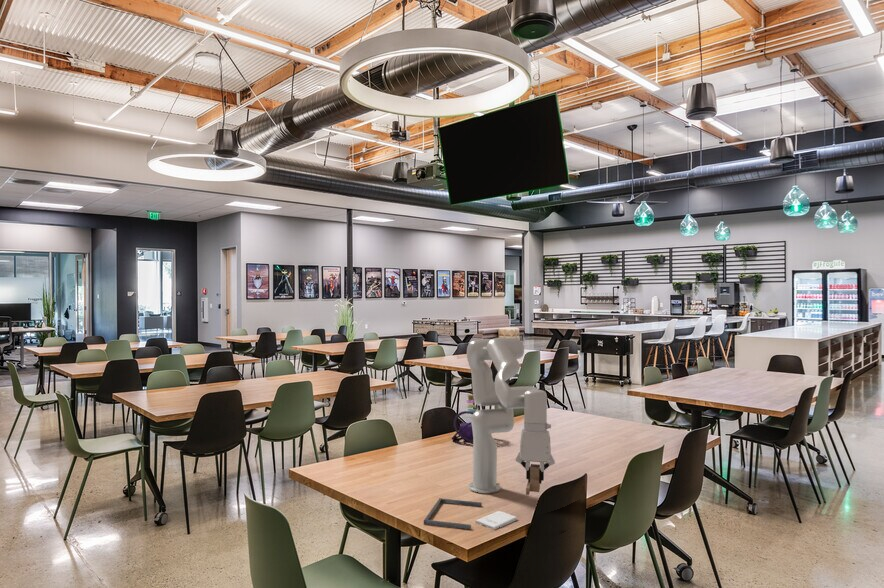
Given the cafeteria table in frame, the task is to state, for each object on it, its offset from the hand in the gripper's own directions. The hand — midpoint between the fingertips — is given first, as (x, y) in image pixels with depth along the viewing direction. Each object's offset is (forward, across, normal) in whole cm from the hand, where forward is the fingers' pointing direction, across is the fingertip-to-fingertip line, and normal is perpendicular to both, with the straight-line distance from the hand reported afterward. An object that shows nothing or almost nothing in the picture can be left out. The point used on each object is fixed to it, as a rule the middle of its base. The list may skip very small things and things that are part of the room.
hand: (535, 481), depth 182 cm
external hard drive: (+16, +13, -1) cm, 20 cm away
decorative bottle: (+14, +42, -107) cm, 116 cm away
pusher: (+3, 0, 0) cm, 3 cm away
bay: (+15, +28, -2) cm, 31 cm away
